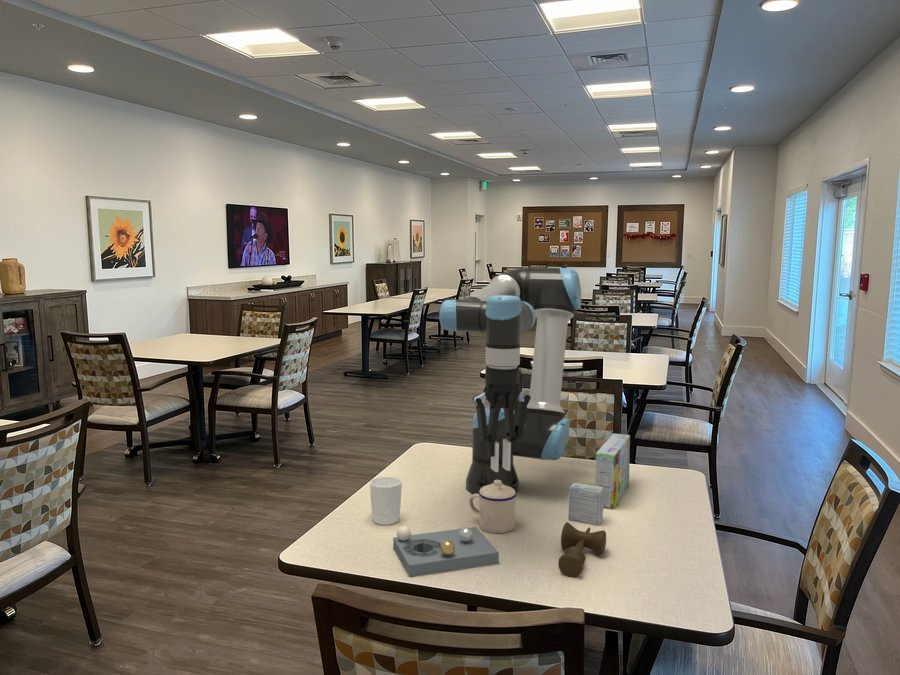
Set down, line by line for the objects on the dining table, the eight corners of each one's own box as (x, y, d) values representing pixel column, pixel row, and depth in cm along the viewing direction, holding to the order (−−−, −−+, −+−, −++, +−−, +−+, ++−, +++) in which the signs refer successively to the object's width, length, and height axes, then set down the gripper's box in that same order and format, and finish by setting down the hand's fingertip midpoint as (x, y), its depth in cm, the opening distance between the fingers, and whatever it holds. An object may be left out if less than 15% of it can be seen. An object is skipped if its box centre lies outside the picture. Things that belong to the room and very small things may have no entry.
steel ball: (470, 537, 148) (470, 524, 147) (475, 543, 145) (475, 530, 144) (456, 539, 147) (457, 526, 146) (461, 545, 144) (461, 531, 143)
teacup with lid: (520, 523, 162) (521, 478, 161) (507, 537, 154) (508, 489, 153) (476, 514, 168) (477, 470, 166) (461, 527, 160) (462, 481, 158)
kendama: (546, 575, 137) (568, 535, 156) (591, 586, 134) (609, 544, 152) (547, 548, 136) (569, 512, 155) (593, 558, 133) (611, 519, 151)
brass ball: (452, 550, 141) (452, 536, 141) (457, 557, 138) (457, 543, 138) (438, 552, 140) (438, 538, 140) (442, 559, 137) (442, 545, 137)
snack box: (610, 482, 193) (612, 432, 191) (629, 485, 190) (632, 434, 188) (593, 506, 174) (595, 451, 172) (614, 510, 171) (616, 454, 169)
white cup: (396, 527, 159) (396, 488, 158) (365, 524, 161) (365, 485, 159) (405, 515, 167) (405, 477, 166) (375, 512, 168) (375, 475, 167)
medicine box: (603, 519, 165) (604, 486, 164) (599, 526, 161) (600, 492, 160) (572, 514, 168) (573, 481, 167) (567, 520, 164) (568, 487, 163)
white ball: (409, 536, 148) (409, 522, 148) (412, 542, 145) (412, 528, 145) (395, 537, 147) (395, 524, 147) (398, 543, 144) (398, 530, 144)
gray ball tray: (475, 536, 154) (475, 526, 154) (498, 563, 141) (498, 552, 141) (393, 547, 148) (393, 537, 148) (409, 576, 135) (409, 565, 135)
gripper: (526, 361, 149) (524, 461, 152) (464, 364, 145) (462, 467, 148) (541, 367, 142) (538, 471, 145) (476, 370, 137) (474, 478, 140)
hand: (500, 469), depth 146 cm, fingers open, 2 cm apart
